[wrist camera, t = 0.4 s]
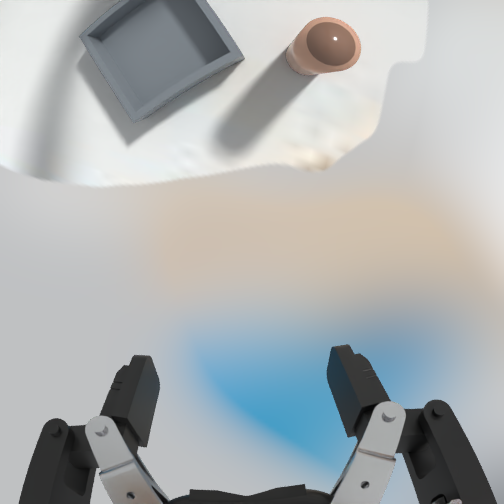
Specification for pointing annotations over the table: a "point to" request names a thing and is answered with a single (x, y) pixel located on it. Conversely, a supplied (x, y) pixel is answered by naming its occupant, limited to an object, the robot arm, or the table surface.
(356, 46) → the cup
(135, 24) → the tray
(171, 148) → the table surface
